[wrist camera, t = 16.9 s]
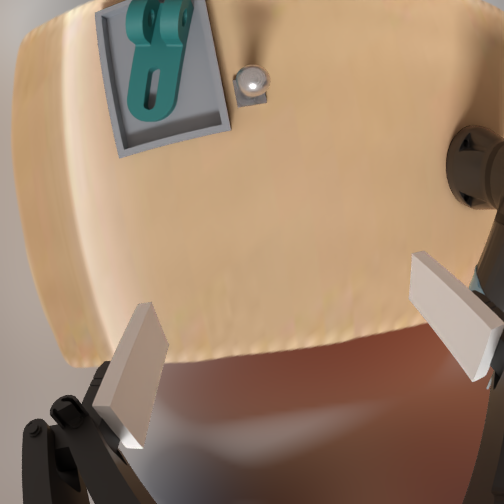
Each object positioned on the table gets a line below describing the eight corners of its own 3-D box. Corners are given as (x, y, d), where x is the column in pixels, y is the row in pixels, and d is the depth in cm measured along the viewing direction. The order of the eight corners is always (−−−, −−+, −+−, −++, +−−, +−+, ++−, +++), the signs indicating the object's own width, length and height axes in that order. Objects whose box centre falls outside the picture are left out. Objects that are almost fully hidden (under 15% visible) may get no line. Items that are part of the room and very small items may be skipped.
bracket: (149, 8, 32) (132, -11, 25) (193, 8, 32) (185, -13, 25) (129, 121, 39) (108, 121, 31) (174, 123, 39) (160, 122, 32)
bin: (202, -15, 31) (200, -21, 29) (231, 130, 41) (230, 130, 38) (101, 17, 32) (94, 12, 29) (125, 156, 41) (119, 158, 39)
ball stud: (261, 76, 38) (270, 56, 26) (266, 102, 39) (277, 93, 27) (232, 81, 38) (229, 63, 26) (238, 107, 39) (237, 99, 28)
